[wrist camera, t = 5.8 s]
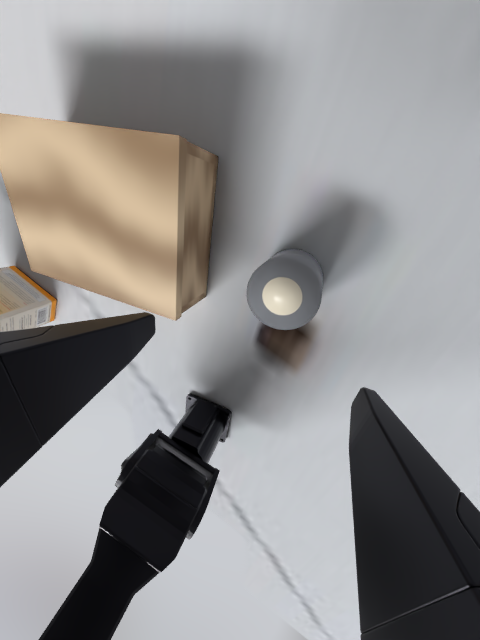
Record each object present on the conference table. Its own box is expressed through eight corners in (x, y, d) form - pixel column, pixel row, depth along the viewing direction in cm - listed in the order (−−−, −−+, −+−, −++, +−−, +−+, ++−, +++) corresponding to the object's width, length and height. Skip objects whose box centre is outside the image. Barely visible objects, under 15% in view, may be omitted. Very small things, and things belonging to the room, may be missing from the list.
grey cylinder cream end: (311, 314, 20) (307, 339, 16) (257, 298, 21) (241, 318, 17) (332, 257, 18) (333, 270, 14) (269, 242, 19) (253, 250, 15)
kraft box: (205, 296, 23) (178, 315, 19) (87, 260, 27) (42, 269, 23) (218, 156, 17) (182, 138, 13) (65, 134, 21) (-2, 115, 17)
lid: (181, 316, 19) (175, 320, 18) (40, 268, 23) (31, 270, 22) (187, 139, 13) (179, 135, 12) (-4, 115, 17) (-18, 111, 16)
